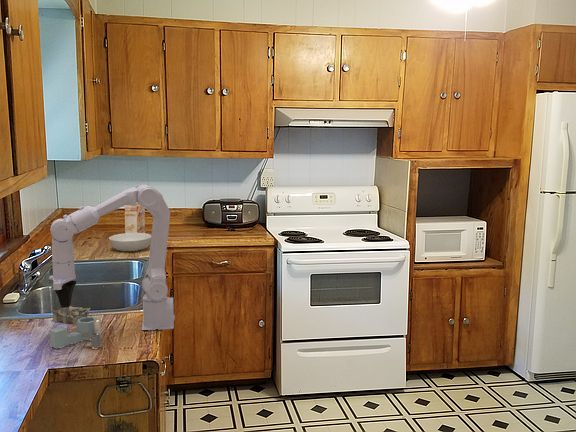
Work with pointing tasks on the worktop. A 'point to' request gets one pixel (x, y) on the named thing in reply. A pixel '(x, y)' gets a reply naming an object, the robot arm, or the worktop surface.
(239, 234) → the worktop surface
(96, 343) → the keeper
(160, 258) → the robot arm
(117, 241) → the serving bowl
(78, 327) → the link
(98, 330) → the pintle
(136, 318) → the worktop surface
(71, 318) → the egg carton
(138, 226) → the coffeecake box
